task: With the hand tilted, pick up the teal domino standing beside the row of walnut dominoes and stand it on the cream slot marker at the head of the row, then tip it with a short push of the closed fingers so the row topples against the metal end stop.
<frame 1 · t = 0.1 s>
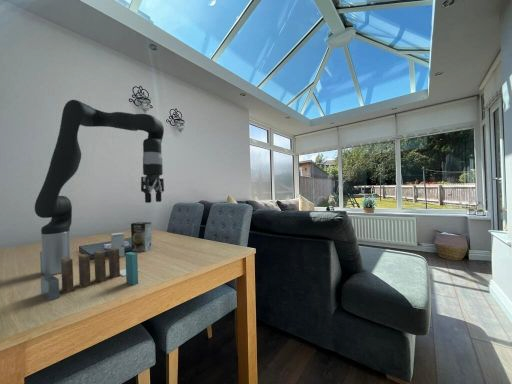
hand: (153, 202, 94), 29 cm above the table, tool pointing down, fingers open, 8 cm apart
domino 5: (67, 290, 77), on the table
domino 2: (114, 275, 90), on the table
skincare box: (118, 256, 118), on the table
end stop: (50, 295, 73), on the table
teal domino: (132, 282, 82), on the table
domino 4: (85, 285, 81), on the table
slot marker: (127, 271, 94), on the table
coffee box: (142, 250, 130), on the table
domino 3: (100, 280, 85), on the table
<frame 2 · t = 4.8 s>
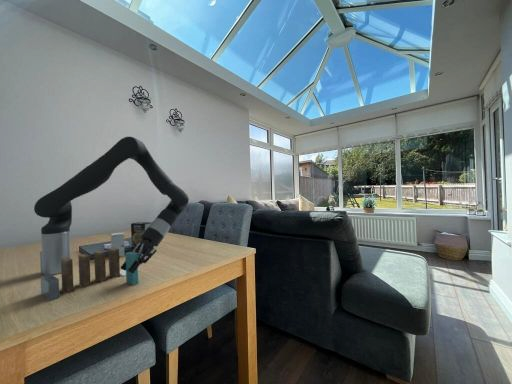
hand: (126, 270, 80), 5 cm above the table, tool tilted 45°, fingers closed on teal domino, 5 cm apart
teal domino: (132, 282, 82), on the table, touching gripper
everything else where it was.
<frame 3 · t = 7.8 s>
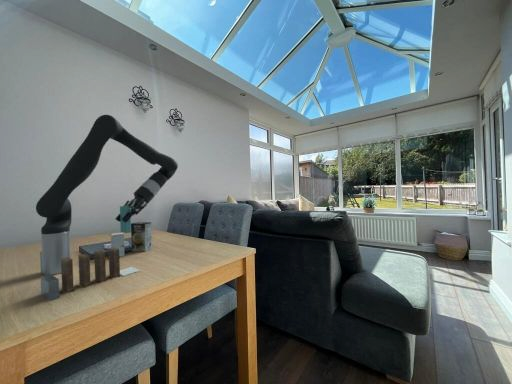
hand: (120, 220, 92), 22 cm above the table, tool tilted 45°, fingers closed on teal domino, 5 cm apart
teal domino: (125, 232, 93), point 17 cm above the table, touching gripper
everything else where it was.
when the fingers open (6 cm above the table, at t = 11.3 s): teal domino stays where it is, resting on slot marker.
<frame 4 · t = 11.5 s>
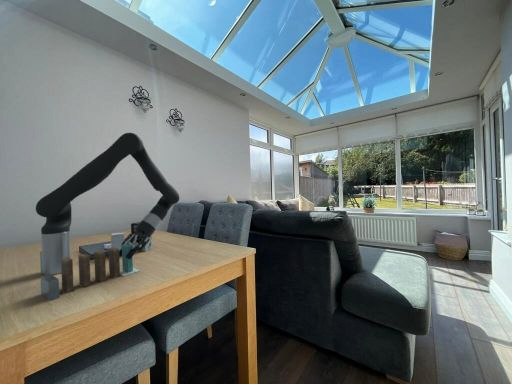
hand: (123, 256, 92), 7 cm above the table, tool tilted 45°, fingers open, 7 cm apart
teal domino: (127, 270, 94), resting on slot marker
everything else where it was.
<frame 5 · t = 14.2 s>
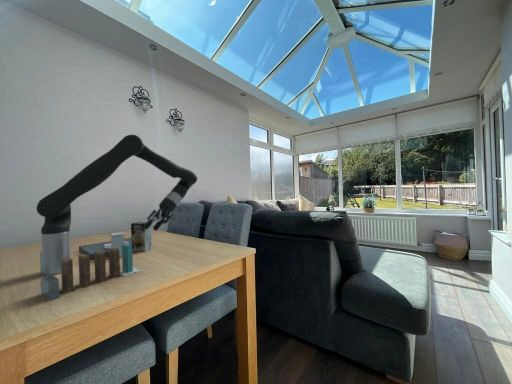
hand: (149, 228, 102), 17 cm above the table, tool tilted 45°, fingers open, 7 cm apart
nothing on the table moved.
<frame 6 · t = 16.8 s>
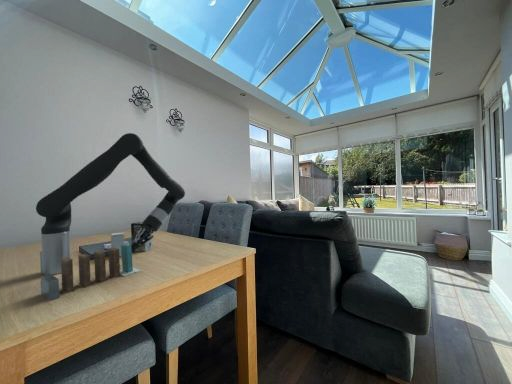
hand: (129, 251, 95), 8 cm above the table, tool tilted 45°, fingers closed
teal domino: (127, 270, 94), resting on slot marker, touching gripper
everything else where it was.
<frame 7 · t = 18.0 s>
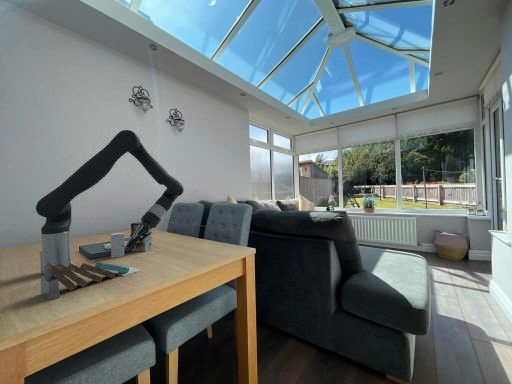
hand: (128, 247, 94), 10 cm above the table, tool tilted 45°, fingers closed
domino 5: (71, 286, 78), point 1 cm above the table, tilted 33°, touching domino 4, end stop
domino 2: (111, 274, 89), point 1 cm above the table, tilted 56°, touching domino 3, teal domino
teal domino: (125, 269, 93), point 1 cm above the table, tilted 64°, touching domino 2, slot marker
domino 4: (83, 283, 81), point 1 cm above the table, tilted 38°, touching domino 3, domino 5
domino 3: (98, 279, 85), point 1 cm above the table, tilted 49°, touching domino 2, domino 4
everything else where it was.
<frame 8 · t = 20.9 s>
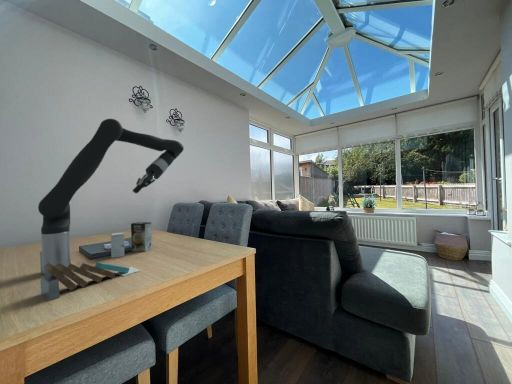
hand: (134, 192, 107), 34 cm above the table, tool tilted 45°, fingers closed
nothing on the table moved.
at the end: teal domino inside the target area on the slot marker (0.6 cm from its centre), point 1.1 cm above the slot marker's base; domino 3 tilted 49°; domino 5 tilted 34° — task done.
